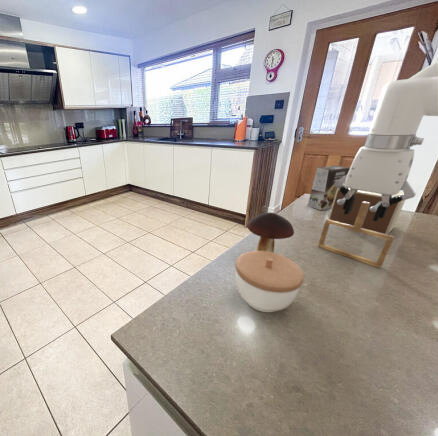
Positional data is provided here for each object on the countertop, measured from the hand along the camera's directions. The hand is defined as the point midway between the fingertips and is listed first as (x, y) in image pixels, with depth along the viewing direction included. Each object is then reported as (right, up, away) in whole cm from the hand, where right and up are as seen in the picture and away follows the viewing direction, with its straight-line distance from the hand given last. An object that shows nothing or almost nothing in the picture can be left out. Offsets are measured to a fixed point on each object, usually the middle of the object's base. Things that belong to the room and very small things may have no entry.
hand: (361, 215), depth 60 cm
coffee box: (+17, +4, +36) cm, 40 cm away
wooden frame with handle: (+1, -11, +5) cm, 12 cm away
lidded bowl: (-29, -19, -7) cm, 36 cm away
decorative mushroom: (-23, -13, +5) cm, 27 cm away
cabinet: (+15, -4, +19) cm, 25 cm away
